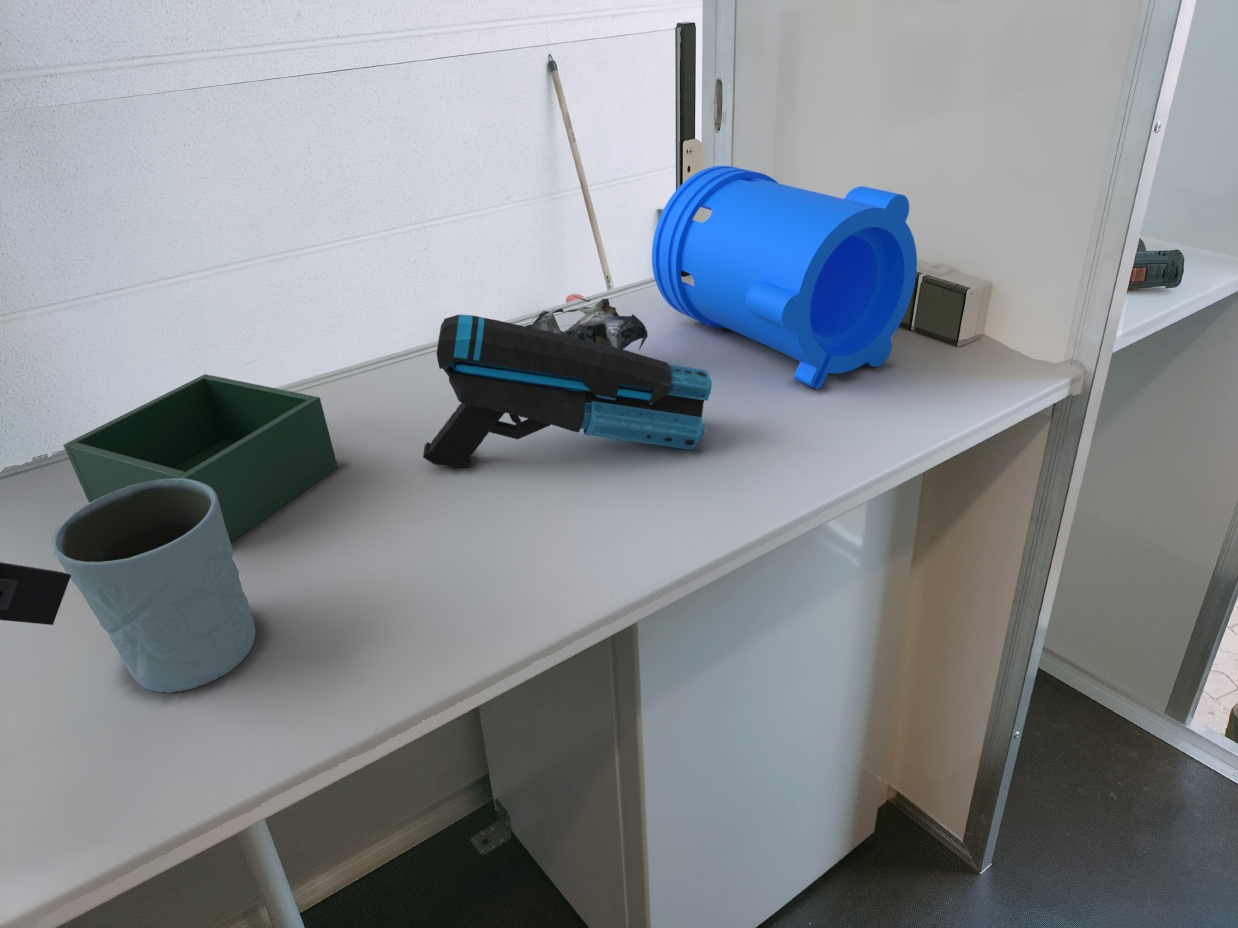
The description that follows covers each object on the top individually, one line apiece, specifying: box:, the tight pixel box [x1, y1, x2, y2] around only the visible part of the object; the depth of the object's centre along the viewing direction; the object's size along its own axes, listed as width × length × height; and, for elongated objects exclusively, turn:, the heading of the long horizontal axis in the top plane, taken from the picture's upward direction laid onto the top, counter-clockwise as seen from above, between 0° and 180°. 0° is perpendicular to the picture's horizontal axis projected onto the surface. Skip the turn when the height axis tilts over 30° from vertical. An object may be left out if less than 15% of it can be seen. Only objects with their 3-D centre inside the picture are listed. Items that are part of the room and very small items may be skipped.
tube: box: [651, 165, 918, 390], centre depth 100 cm, size 25×22×19 cm
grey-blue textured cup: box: [51, 478, 256, 694], centre depth 60 cm, size 10×10×12 cm
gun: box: [422, 313, 713, 468], centre depth 83 cm, size 8×26×15 cm, turn 97°
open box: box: [62, 373, 339, 544], centre depth 80 cm, size 16×16×8 cm
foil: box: [525, 295, 649, 351], centre depth 99 cm, size 12×11×15 cm
